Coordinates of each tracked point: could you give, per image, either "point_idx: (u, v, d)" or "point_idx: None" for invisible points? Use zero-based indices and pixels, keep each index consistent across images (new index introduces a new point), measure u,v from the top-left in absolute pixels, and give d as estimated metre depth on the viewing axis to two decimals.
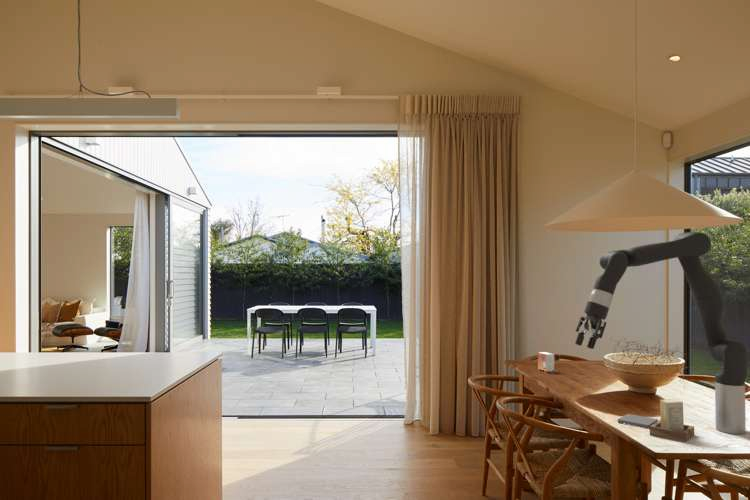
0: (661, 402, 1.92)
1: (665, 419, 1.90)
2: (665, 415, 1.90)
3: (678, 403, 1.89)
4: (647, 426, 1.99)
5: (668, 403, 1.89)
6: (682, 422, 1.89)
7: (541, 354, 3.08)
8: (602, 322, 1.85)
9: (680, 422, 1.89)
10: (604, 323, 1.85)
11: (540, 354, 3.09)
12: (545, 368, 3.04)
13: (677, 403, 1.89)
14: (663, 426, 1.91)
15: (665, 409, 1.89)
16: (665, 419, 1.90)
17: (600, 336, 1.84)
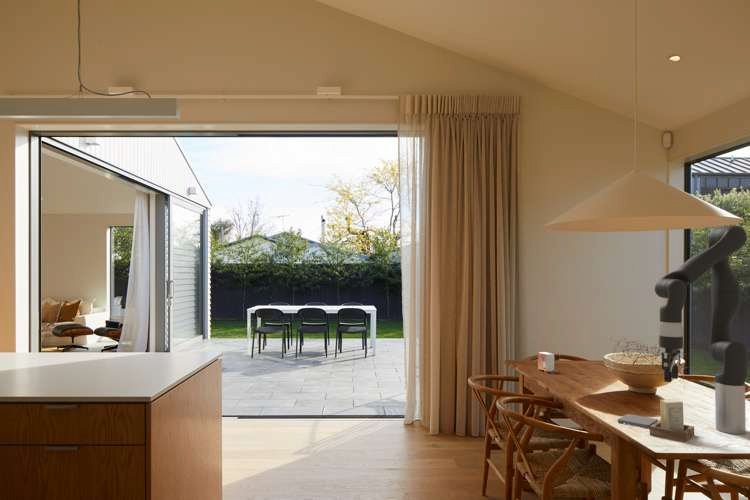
0: (661, 402, 1.92)
1: (665, 419, 1.90)
2: (665, 415, 1.90)
3: (678, 403, 1.89)
4: (647, 426, 1.99)
5: (668, 403, 1.89)
6: (682, 422, 1.89)
7: (541, 354, 3.08)
8: (664, 354, 1.87)
9: (680, 422, 1.89)
10: (667, 355, 1.87)
11: (540, 354, 3.09)
12: (545, 368, 3.04)
13: (677, 403, 1.89)
14: (663, 426, 1.91)
15: (665, 409, 1.89)
16: (665, 419, 1.90)
17: (667, 368, 1.86)
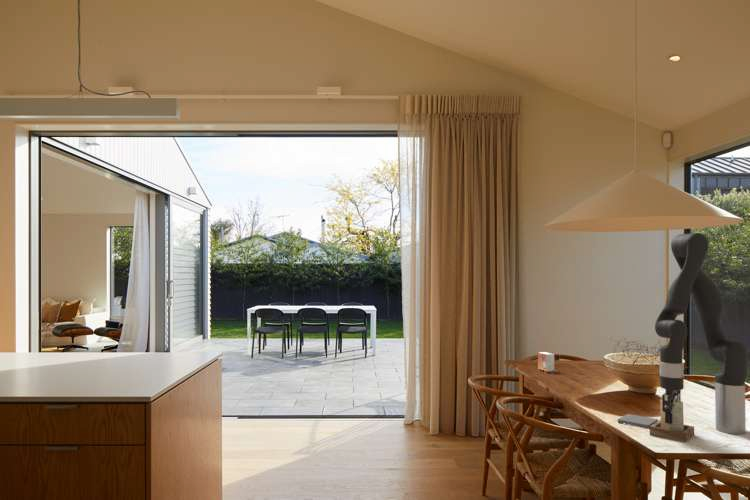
0: (661, 402, 1.92)
1: None
2: None
3: (678, 403, 1.89)
4: (647, 426, 1.99)
5: None
6: (682, 422, 1.89)
7: (541, 354, 3.08)
8: (665, 396, 1.87)
9: (680, 422, 1.89)
10: (667, 397, 1.86)
11: (540, 354, 3.09)
12: (545, 368, 3.04)
13: (677, 403, 1.89)
14: (663, 426, 1.91)
15: None
16: None
17: (668, 411, 1.86)
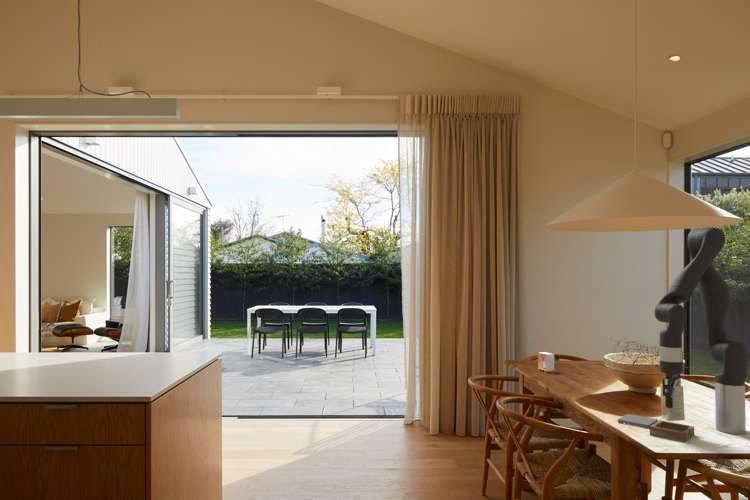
0: (661, 387, 1.92)
1: None
2: None
3: (678, 387, 1.89)
4: (647, 426, 1.99)
5: None
6: (683, 407, 1.89)
7: (541, 354, 3.08)
8: (665, 381, 1.87)
9: (681, 406, 1.89)
10: (668, 381, 1.86)
11: (540, 354, 3.09)
12: (545, 368, 3.04)
13: (677, 387, 1.89)
14: (664, 410, 1.91)
15: None
16: None
17: (668, 395, 1.86)
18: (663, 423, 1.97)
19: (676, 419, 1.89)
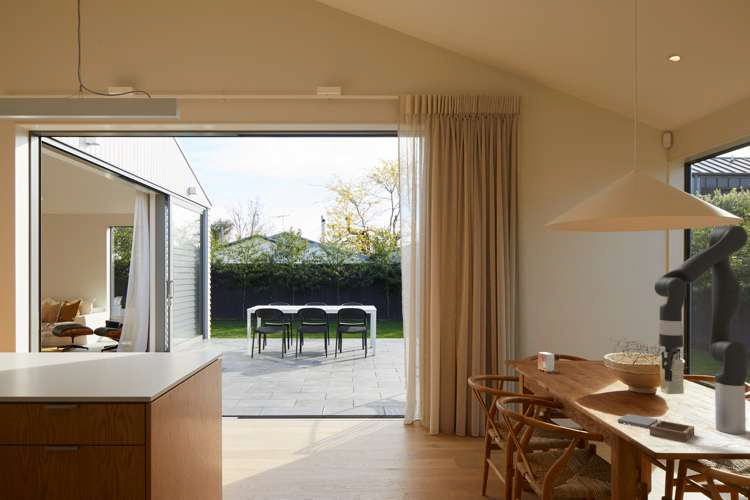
0: (661, 360, 1.93)
1: None
2: (664, 373, 1.91)
3: (678, 361, 1.90)
4: (647, 426, 1.99)
5: None
6: (682, 380, 1.90)
7: (541, 354, 3.08)
8: (664, 354, 1.87)
9: (680, 380, 1.90)
10: (667, 354, 1.87)
11: (540, 354, 3.09)
12: (545, 368, 3.04)
13: (677, 361, 1.90)
14: (663, 384, 1.92)
15: None
16: (664, 376, 1.91)
17: (667, 368, 1.87)
18: (663, 423, 1.97)
19: (675, 392, 1.89)
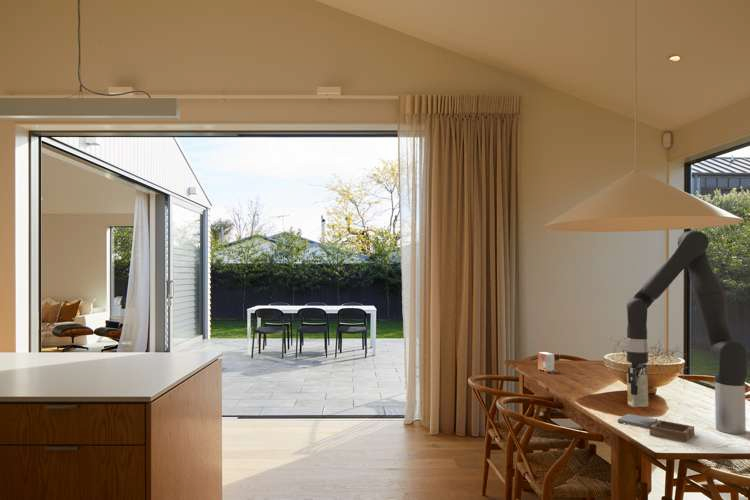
0: None
1: None
2: (630, 387, 2.06)
3: (643, 376, 2.05)
4: (647, 426, 1.99)
5: None
6: (647, 394, 2.05)
7: (541, 354, 3.08)
8: (630, 369, 2.02)
9: (645, 393, 2.05)
10: (633, 370, 2.02)
11: (540, 354, 3.09)
12: (545, 368, 3.04)
13: (642, 376, 2.05)
14: (629, 397, 2.07)
15: None
16: None
17: (633, 382, 2.02)
18: (663, 423, 1.97)
19: (640, 405, 2.04)
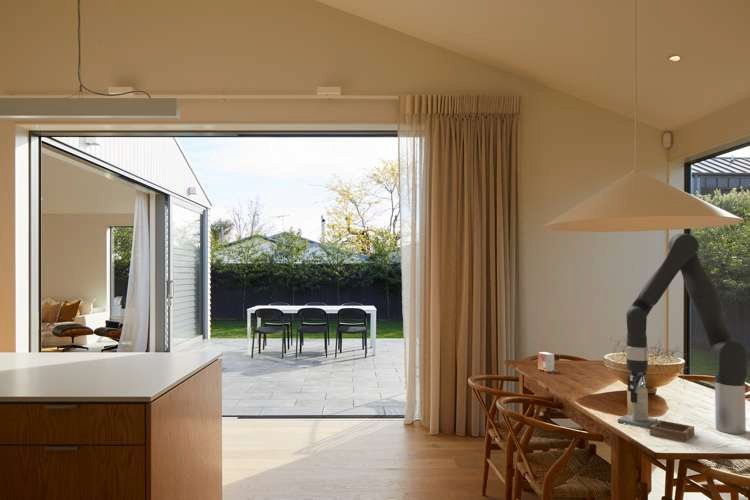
0: None
1: (631, 404, 2.05)
2: (630, 401, 2.05)
3: (643, 390, 2.05)
4: (647, 426, 1.99)
5: None
6: (647, 408, 2.04)
7: (541, 354, 3.08)
8: (630, 377, 2.02)
9: (645, 407, 2.04)
10: (632, 377, 2.02)
11: (540, 354, 3.09)
12: (545, 368, 3.04)
13: (642, 390, 2.04)
14: (629, 411, 2.06)
15: None
16: (630, 404, 2.05)
17: (633, 390, 2.01)
18: (663, 423, 1.97)
19: (640, 419, 2.04)
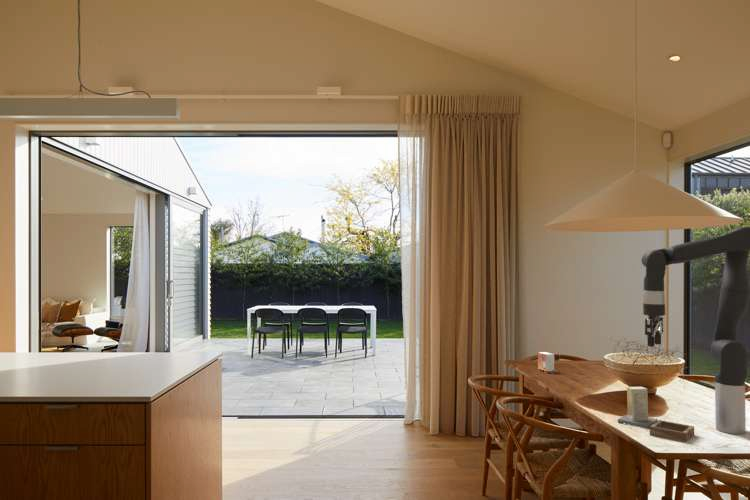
0: (627, 389, 2.07)
1: (631, 404, 2.05)
2: (630, 401, 2.05)
3: (643, 390, 2.04)
4: (647, 426, 1.99)
5: (633, 390, 2.04)
6: (647, 408, 2.04)
7: (541, 354, 3.08)
8: (648, 320, 2.00)
9: (645, 407, 2.04)
10: (650, 321, 1.99)
11: (540, 354, 3.09)
12: (545, 368, 3.04)
13: (642, 390, 2.04)
14: (629, 411, 2.06)
15: (631, 395, 2.05)
16: (630, 404, 2.05)
17: (650, 333, 1.99)
18: (663, 423, 1.97)
19: (640, 419, 2.04)
